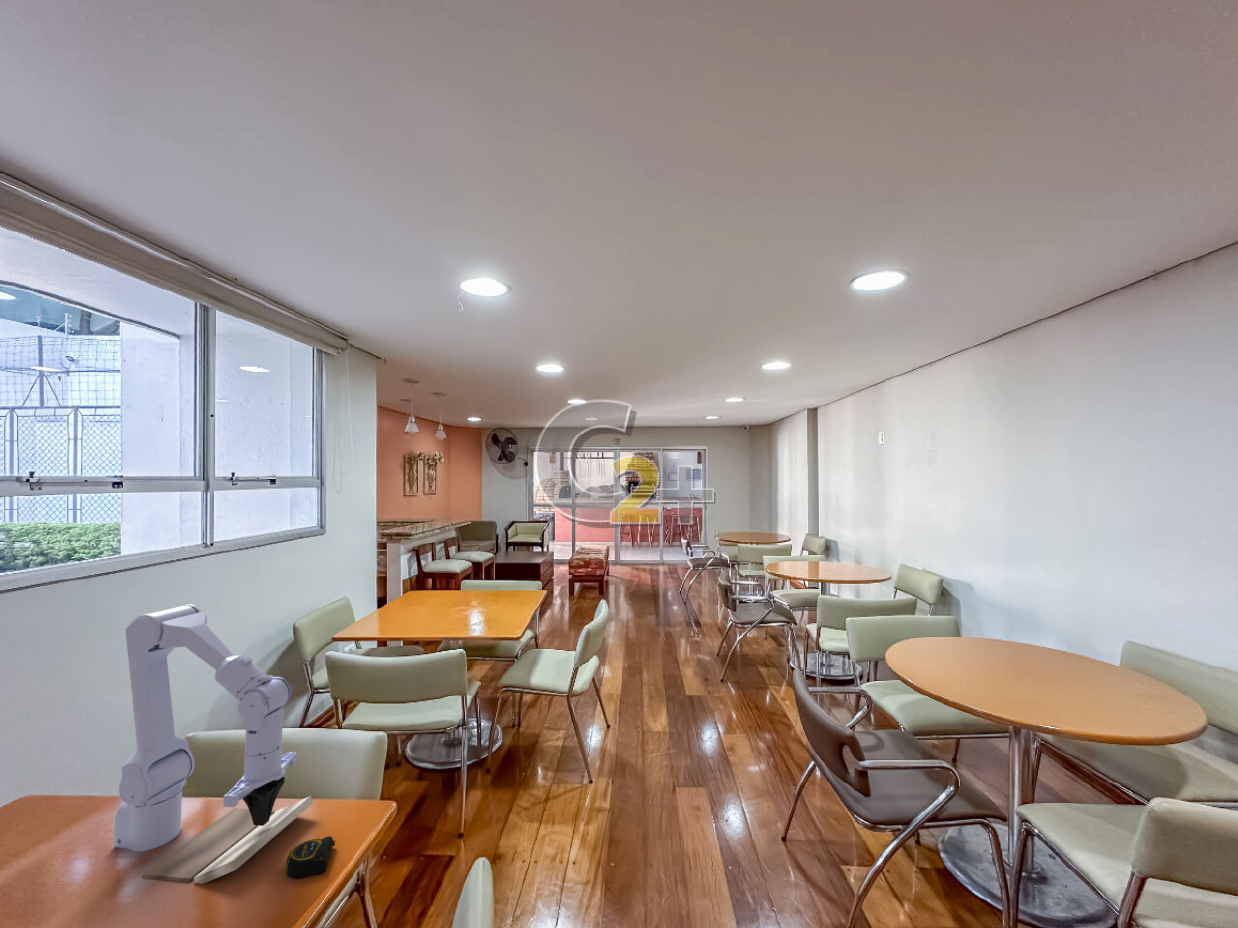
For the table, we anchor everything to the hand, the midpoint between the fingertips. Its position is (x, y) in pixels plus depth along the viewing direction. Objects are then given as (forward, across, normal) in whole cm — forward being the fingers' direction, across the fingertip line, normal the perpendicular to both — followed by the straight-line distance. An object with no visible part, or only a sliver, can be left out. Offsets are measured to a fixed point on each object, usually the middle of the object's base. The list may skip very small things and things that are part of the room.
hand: (261, 822), depth 93 cm
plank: (+3, 0, 0) cm, 3 cm away
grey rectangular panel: (+5, 0, +10) cm, 11 cm away
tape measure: (+6, -2, -13) cm, 14 cm away
